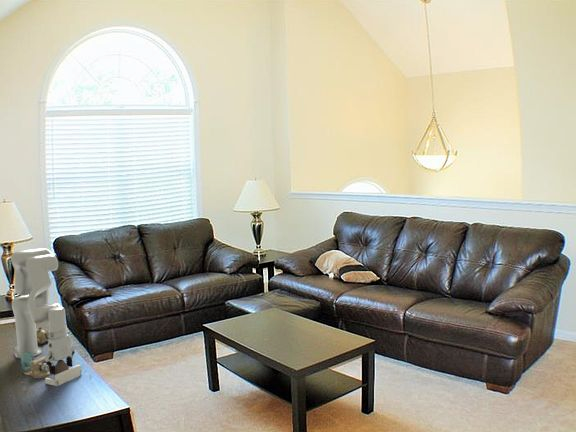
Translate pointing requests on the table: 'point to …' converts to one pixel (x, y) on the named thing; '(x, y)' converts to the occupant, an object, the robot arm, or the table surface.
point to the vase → (60, 367)
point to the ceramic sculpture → (42, 335)
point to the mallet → (27, 360)
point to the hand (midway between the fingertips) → (61, 369)
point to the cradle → (65, 376)
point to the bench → (37, 369)
